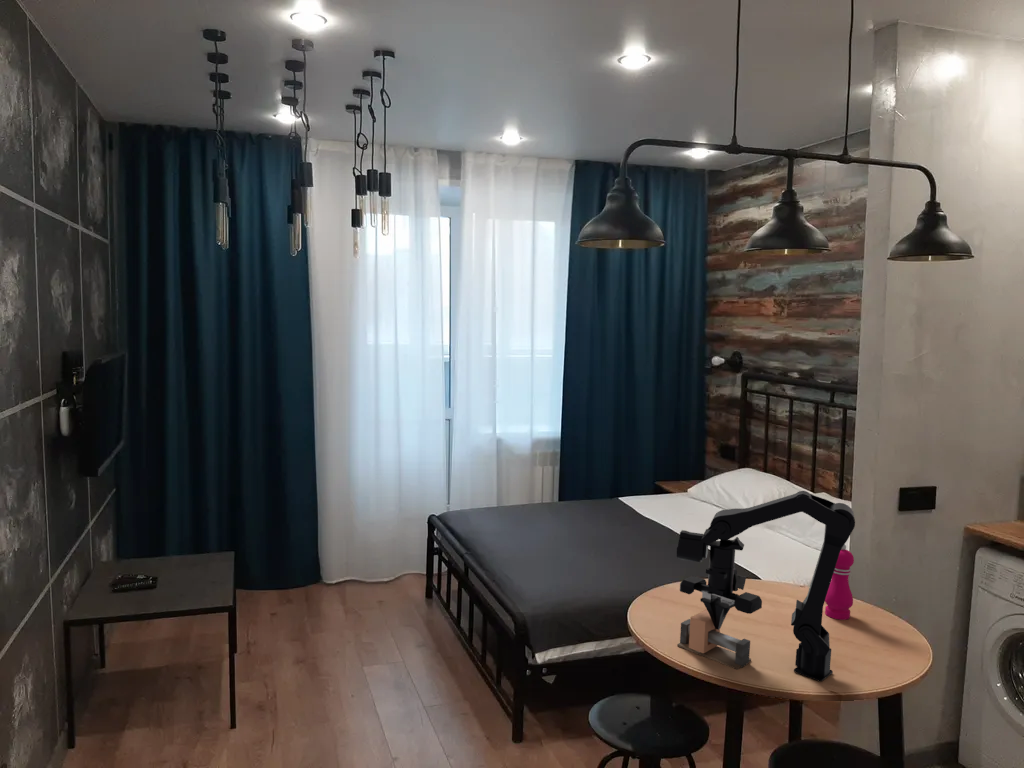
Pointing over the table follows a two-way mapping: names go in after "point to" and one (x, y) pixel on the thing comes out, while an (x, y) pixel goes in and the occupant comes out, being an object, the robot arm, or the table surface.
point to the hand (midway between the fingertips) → (717, 628)
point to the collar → (701, 632)
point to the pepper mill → (840, 588)
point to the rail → (719, 653)
